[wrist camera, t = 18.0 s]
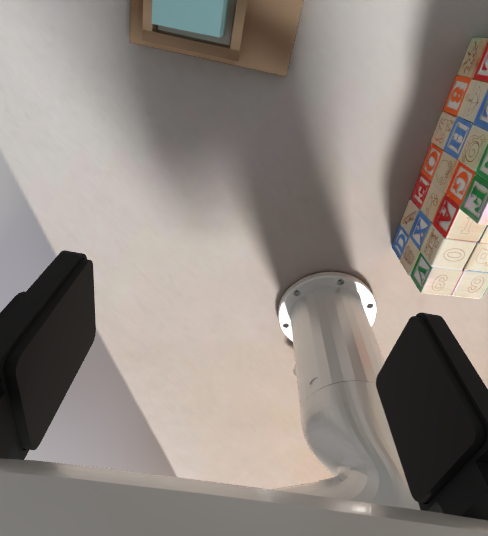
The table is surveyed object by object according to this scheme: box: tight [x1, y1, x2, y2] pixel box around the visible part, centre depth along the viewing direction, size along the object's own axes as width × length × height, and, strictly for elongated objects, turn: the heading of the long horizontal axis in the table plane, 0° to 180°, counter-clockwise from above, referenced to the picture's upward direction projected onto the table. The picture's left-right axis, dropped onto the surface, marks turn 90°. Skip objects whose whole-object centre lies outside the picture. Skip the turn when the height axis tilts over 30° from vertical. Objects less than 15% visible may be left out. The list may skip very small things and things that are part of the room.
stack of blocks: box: [392, 37, 488, 299], centre depth 33 cm, size 21×6×12 cm, turn 173°
